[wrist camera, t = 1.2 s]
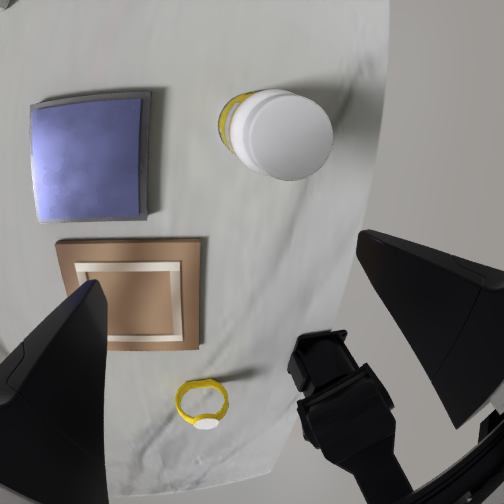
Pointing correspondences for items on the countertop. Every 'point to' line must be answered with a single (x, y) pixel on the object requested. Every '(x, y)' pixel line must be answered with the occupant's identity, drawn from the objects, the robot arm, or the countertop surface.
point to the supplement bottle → (277, 133)
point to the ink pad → (91, 157)
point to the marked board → (140, 289)
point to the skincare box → (4, 4)
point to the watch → (205, 419)
